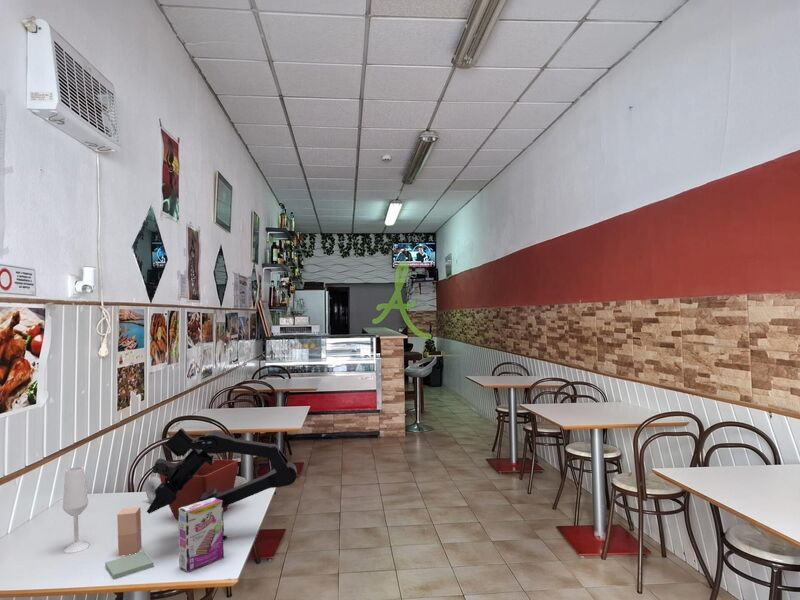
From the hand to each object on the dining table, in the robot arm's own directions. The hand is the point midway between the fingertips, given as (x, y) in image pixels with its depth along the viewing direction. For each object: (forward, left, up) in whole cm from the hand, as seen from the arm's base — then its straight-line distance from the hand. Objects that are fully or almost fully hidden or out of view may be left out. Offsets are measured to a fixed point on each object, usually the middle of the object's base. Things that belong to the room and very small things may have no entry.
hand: (151, 507), depth 160 cm
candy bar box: (-22, +4, -13) cm, 25 cm away
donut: (+30, -33, -13) cm, 46 cm away
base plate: (-3, +11, -12) cm, 17 cm away
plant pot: (+4, -27, -13) cm, 30 cm away
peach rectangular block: (+5, +3, -12) cm, 14 cm away
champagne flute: (+24, +5, -12) cm, 28 cm away
